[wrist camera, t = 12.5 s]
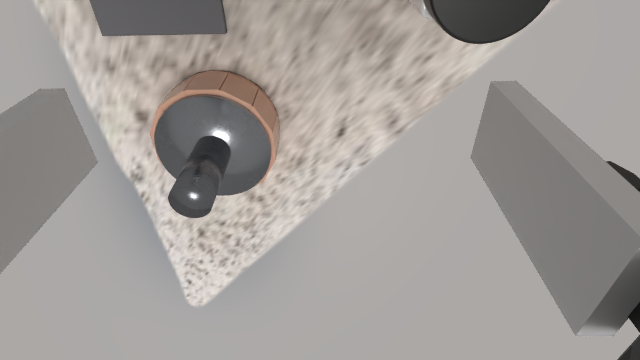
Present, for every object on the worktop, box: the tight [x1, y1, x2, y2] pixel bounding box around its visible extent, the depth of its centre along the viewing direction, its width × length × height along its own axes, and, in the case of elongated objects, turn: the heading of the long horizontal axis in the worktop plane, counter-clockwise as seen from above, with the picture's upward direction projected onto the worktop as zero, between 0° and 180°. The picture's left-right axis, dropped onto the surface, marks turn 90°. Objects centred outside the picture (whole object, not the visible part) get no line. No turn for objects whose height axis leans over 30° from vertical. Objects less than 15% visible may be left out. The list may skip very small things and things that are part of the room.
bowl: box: [150, 71, 280, 194], centre depth 40 cm, size 12×12×5 cm
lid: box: [154, 94, 272, 218], centre depth 34 cm, size 12×12×9 cm
